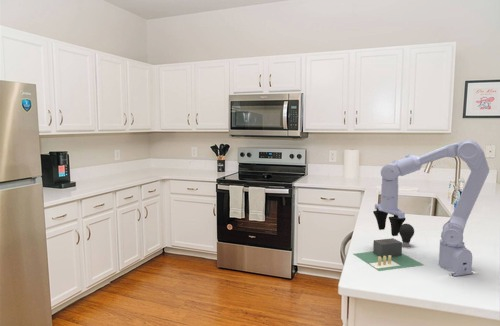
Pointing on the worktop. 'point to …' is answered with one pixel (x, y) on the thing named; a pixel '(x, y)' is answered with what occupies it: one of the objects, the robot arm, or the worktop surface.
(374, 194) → the worktop surface
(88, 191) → the worktop surface
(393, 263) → the header board
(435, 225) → the worktop surface
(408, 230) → the light bulb
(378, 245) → the plug housing
